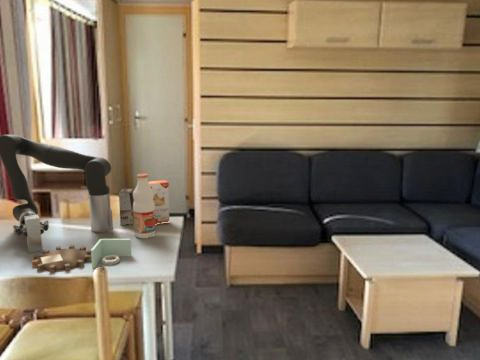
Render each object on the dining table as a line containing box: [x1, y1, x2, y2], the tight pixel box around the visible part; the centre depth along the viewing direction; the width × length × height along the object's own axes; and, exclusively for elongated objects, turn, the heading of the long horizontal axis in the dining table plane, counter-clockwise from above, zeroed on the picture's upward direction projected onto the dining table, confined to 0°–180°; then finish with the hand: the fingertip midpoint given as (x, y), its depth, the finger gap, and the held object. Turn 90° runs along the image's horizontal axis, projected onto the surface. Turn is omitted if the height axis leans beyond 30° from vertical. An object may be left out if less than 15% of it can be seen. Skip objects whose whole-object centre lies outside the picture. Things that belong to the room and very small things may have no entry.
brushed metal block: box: [24, 215, 44, 254], centre depth 181 cm, size 5×5×14 cm
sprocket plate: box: [31, 244, 92, 273], centre depth 173 cm, size 22×22×2 cm
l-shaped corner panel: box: [90, 238, 132, 269], centre depth 172 cm, size 12×12×8 cm
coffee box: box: [118, 187, 136, 226], centre depth 217 cm, size 9×6×16 cm
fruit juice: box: [133, 173, 157, 239], centre depth 198 cm, size 9×9×28 cm
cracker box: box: [148, 179, 170, 224], centre depth 214 cm, size 14×6×21 cm, turn 119°
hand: (34, 233), depth 179 cm, fingers closed on brushed metal block, 5 cm apart
